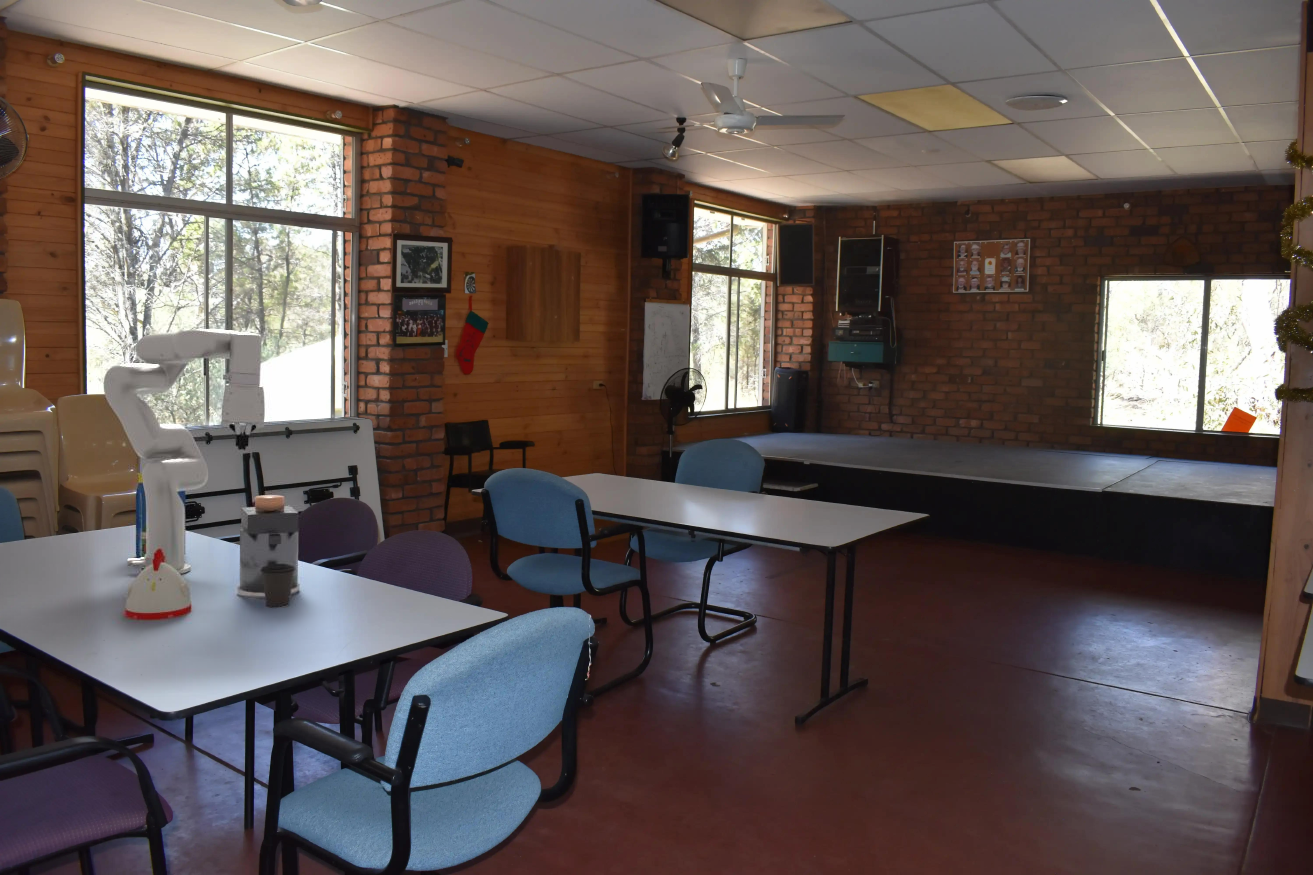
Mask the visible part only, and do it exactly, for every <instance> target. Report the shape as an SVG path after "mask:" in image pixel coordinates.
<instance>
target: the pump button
mask: <svg viewBox="0 0 1313 875" xmlns="http://www.w3.org/2000/svg"><path fill="white" fill-rule="evenodd" d="M284 506H285V496H283V495H277V494H267V495H266V494H265V495H264V494H263V495H257V496H255V497H254V507H255V509H256V510H262V511H274V510H282V509H284Z"/></svg>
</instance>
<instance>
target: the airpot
mask: <svg viewBox="0 0 1313 875" xmlns="http://www.w3.org/2000/svg"><path fill="white" fill-rule="evenodd" d="M240 516H241V524H240V525H241V526H240V527H241V528H240V530H239V585H238V586H237V592H236V593H237V596H239V597H241V598H245V599H251V600H265V591H264V582H263V573H262V572H261V571H260V570H261V569H262V567H265V566H268V565H271V564H287V565H291V566H294V568H295V570H294V572H293V580H292V587H291V595H290V597H292V596H295V595H297V594H299V593H300V591H301V589H300V588H301V586H300V583H299V512H298V511H297V510H296V509H294V507H292V506H291V505H284V509H282V510H274V511H262V510H256V509H255V506H254V507H253V506H250V507H248V506H247V507H241V515H240Z"/></svg>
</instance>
